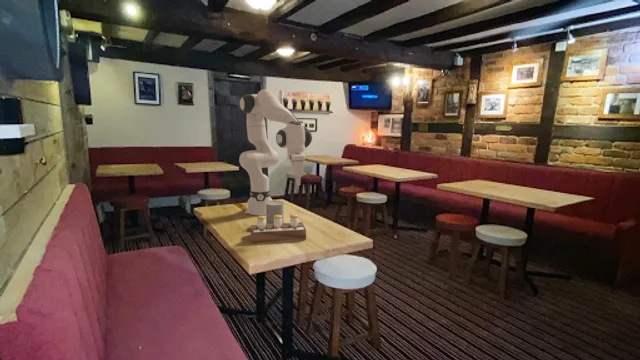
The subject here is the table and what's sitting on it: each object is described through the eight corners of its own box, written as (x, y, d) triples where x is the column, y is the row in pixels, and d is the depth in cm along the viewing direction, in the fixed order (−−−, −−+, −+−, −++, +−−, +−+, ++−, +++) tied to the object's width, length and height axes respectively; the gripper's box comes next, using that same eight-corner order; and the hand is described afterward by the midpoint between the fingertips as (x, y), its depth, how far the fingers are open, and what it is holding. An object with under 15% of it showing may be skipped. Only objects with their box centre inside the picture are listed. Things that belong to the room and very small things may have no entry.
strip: (253, 230, 159) (253, 229, 159) (303, 227, 164) (303, 226, 164) (253, 232, 157) (253, 231, 156) (303, 229, 161) (304, 228, 161)
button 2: (289, 229, 168) (289, 214, 167) (297, 228, 169) (297, 213, 168) (290, 231, 164) (290, 216, 163) (298, 231, 165) (298, 216, 164)
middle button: (273, 230, 166) (273, 215, 165) (281, 229, 167) (281, 214, 166) (274, 232, 163) (274, 217, 161) (282, 232, 163) (282, 216, 162)
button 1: (257, 231, 165) (256, 215, 163) (265, 230, 166) (265, 215, 164) (257, 233, 161) (257, 218, 159) (266, 233, 162) (265, 217, 160)
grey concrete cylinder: (280, 228, 179) (280, 205, 177) (263, 226, 181) (263, 204, 179) (285, 222, 188) (285, 201, 186) (269, 221, 190) (269, 200, 188)
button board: (251, 234, 169) (251, 224, 168) (302, 231, 174) (302, 222, 173) (251, 243, 157) (251, 232, 156) (306, 239, 162) (306, 229, 161)
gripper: (288, 154, 171) (289, 180, 173) (291, 157, 151) (292, 187, 153) (301, 153, 172) (301, 180, 174) (305, 156, 152) (306, 186, 154)
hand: (297, 183), depth 163 cm, fingers open, 8 cm apart
